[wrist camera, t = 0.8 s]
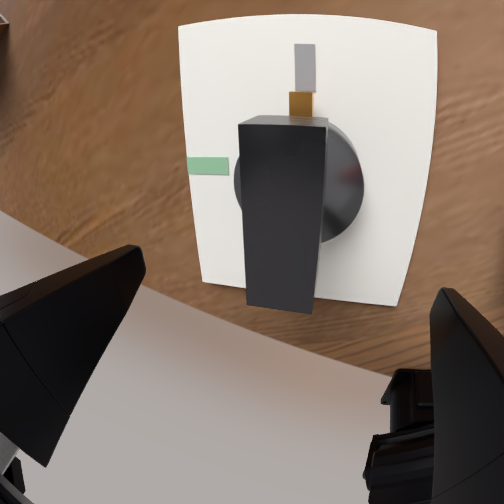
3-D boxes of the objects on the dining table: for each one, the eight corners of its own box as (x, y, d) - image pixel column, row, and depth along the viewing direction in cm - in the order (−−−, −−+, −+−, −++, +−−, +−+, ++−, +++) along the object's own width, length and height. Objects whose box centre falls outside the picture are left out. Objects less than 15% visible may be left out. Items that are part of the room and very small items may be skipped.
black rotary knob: (353, 233, 20) (355, 319, 13) (251, 222, 21) (206, 298, 15) (365, 95, 15) (387, 104, 8) (247, 90, 17) (183, 100, 10)
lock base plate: (395, 298, 23) (396, 307, 22) (207, 274, 27) (202, 282, 26) (432, 33, 12) (437, 30, 11) (185, 28, 16) (177, 26, 15)
